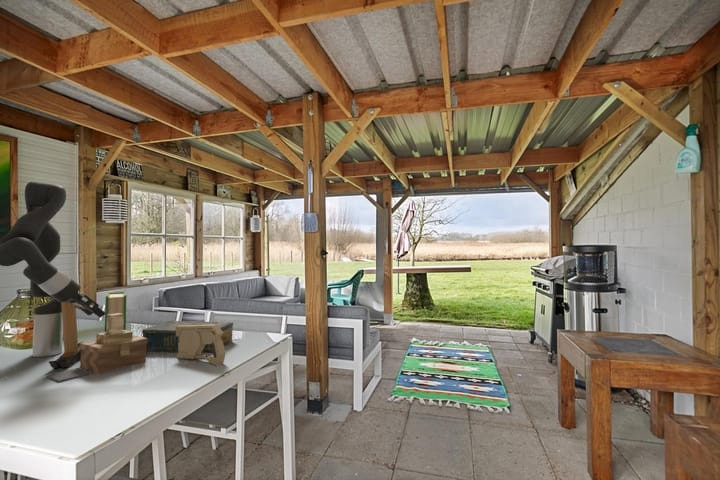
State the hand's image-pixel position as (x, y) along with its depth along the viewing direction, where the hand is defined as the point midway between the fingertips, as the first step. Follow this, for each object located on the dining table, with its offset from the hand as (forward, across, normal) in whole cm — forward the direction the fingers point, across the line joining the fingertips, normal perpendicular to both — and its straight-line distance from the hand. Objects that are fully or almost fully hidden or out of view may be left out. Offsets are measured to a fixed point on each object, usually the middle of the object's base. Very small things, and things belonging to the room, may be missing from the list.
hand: (97, 314), depth 126 cm
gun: (+32, -24, -4) cm, 40 cm away
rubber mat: (+8, 0, +20) cm, 21 cm away
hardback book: (+28, +28, +1) cm, 39 cm away
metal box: (+40, -1, -11) cm, 42 cm away
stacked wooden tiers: (+18, 0, +10) cm, 21 cm away
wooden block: (+12, 0, +3) cm, 12 cm away
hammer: (+14, +18, +15) cm, 27 cm away
